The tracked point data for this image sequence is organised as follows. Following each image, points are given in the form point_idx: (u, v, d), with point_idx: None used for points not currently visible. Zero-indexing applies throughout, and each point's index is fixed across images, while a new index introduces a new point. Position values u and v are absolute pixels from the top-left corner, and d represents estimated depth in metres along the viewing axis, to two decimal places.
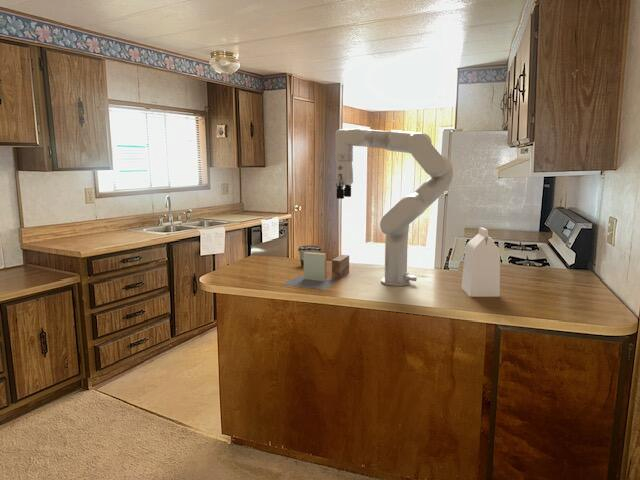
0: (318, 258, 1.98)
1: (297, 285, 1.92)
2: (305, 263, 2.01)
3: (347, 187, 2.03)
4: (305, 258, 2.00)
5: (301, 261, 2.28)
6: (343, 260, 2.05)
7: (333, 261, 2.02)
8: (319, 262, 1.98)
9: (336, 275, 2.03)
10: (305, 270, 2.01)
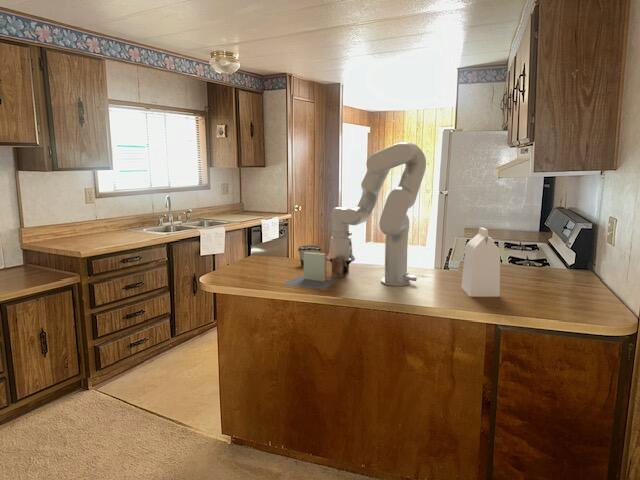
0: (318, 258, 1.98)
1: (297, 285, 1.92)
2: (305, 263, 2.01)
3: None
4: (305, 258, 2.00)
5: (301, 261, 2.28)
6: (343, 260, 2.05)
7: (333, 261, 2.02)
8: (319, 262, 1.98)
9: (336, 275, 2.03)
10: (305, 270, 2.01)
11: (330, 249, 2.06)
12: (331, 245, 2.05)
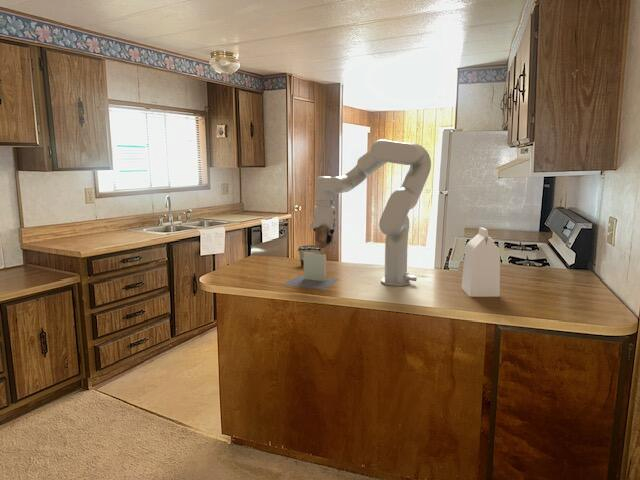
0: (318, 258, 1.98)
1: (297, 285, 1.92)
2: (305, 263, 2.01)
3: None
4: (305, 258, 2.00)
5: (301, 261, 2.28)
6: (326, 229, 2.06)
7: (316, 229, 2.03)
8: (319, 262, 1.98)
9: (319, 243, 2.04)
10: (305, 270, 2.01)
11: (314, 218, 2.07)
12: (315, 214, 2.06)
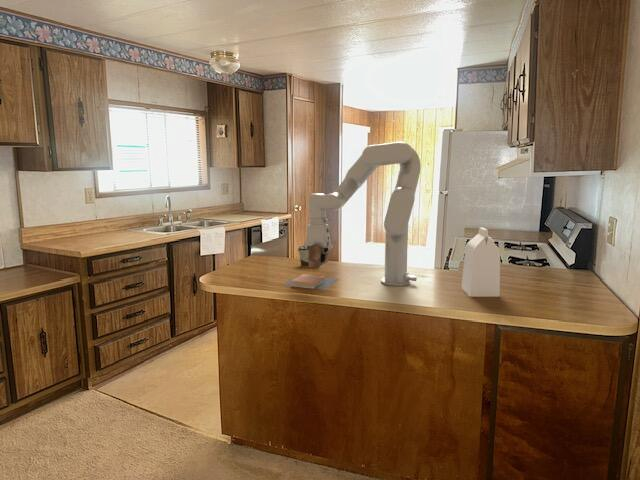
0: None
1: None
2: None
3: None
4: None
5: (301, 261, 2.28)
6: (320, 247, 2.00)
7: (310, 248, 1.97)
8: None
9: (313, 263, 1.98)
10: None
11: (307, 236, 2.01)
12: (308, 232, 2.00)
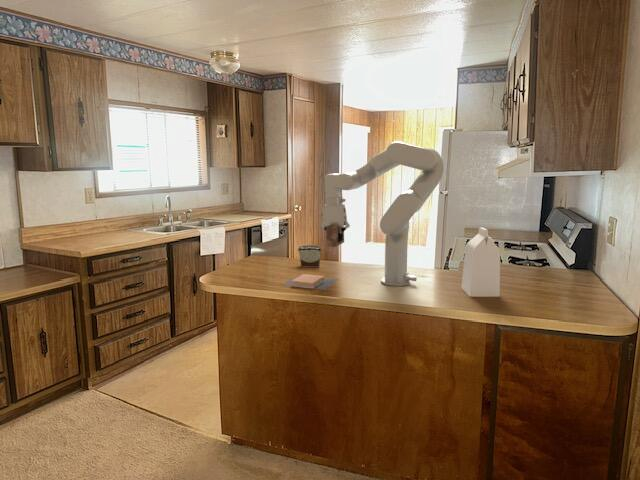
0: None
1: None
2: None
3: None
4: None
5: (301, 261, 2.28)
6: (337, 227, 2.02)
7: (327, 228, 1.99)
8: None
9: (331, 242, 2.00)
10: None
11: (324, 217, 2.03)
12: (325, 212, 2.03)
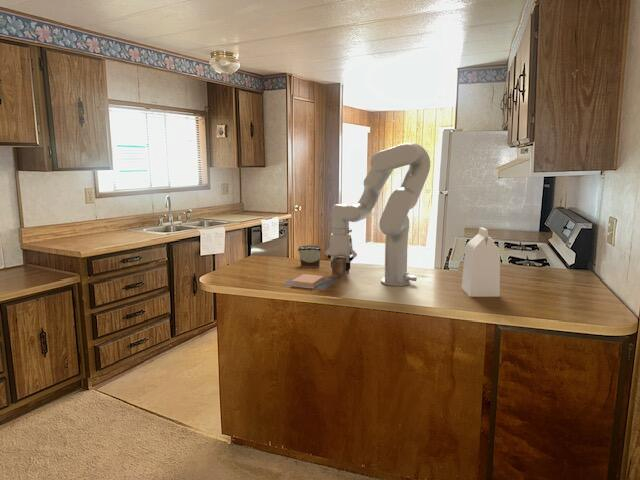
0: None
1: None
2: None
3: None
4: None
5: (301, 261, 2.28)
6: (343, 260, 2.05)
7: (333, 261, 2.02)
8: None
9: (336, 275, 2.03)
10: None
11: (330, 246, 2.06)
12: (331, 242, 2.05)
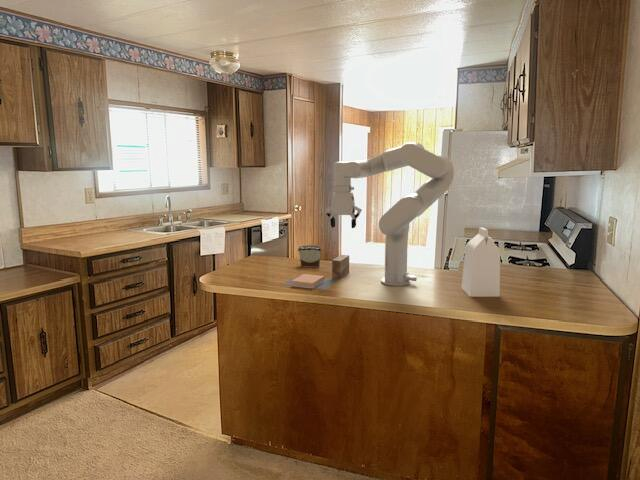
0: None
1: None
2: None
3: (333, 218, 2.06)
4: None
5: (301, 261, 2.28)
6: (343, 260, 2.05)
7: (333, 261, 2.02)
8: None
9: (336, 275, 2.03)
10: None
11: (332, 205, 2.02)
12: (333, 201, 2.02)
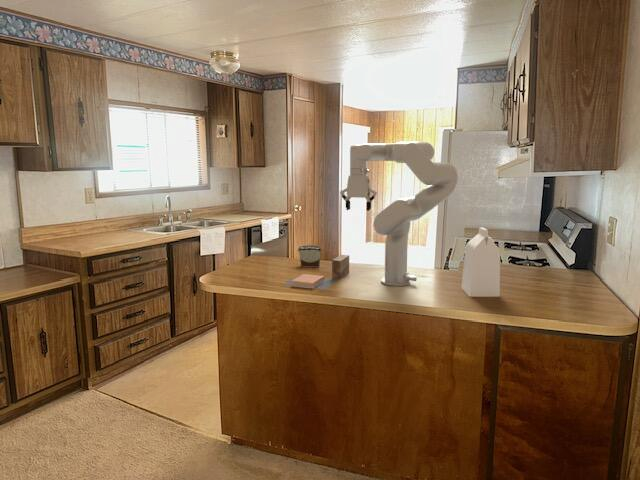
0: None
1: None
2: None
3: (348, 200, 2.08)
4: None
5: (301, 261, 2.28)
6: (343, 260, 2.05)
7: (333, 261, 2.02)
8: None
9: (336, 275, 2.03)
10: None
11: (348, 187, 2.05)
12: (349, 183, 2.04)
